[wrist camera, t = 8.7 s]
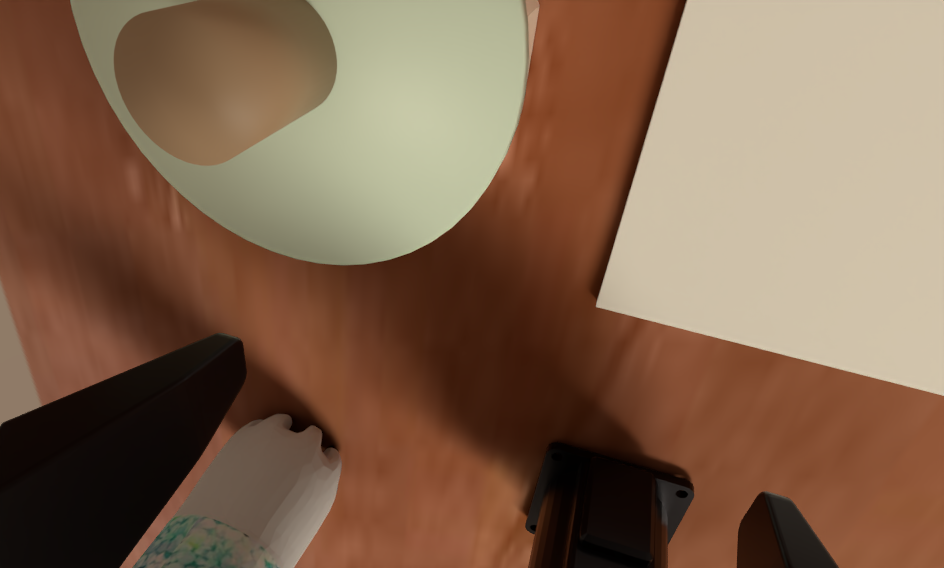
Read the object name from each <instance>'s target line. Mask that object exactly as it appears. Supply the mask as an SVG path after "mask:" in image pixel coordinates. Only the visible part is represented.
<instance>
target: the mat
mask: <svg viewBox="0 0 944 568" xmlns="http://www.w3.org/2000/svg"><path fill="white" fill-rule="evenodd" d="M596 307H598V308H602V309H606V310H610V311H614V312H618V313H622V314H626V315H630V316H634V317H638V318H642V319H645V320H649V321H653V322H657V323H661V324H665V325H669V326H673V327H677V328H681V329H685V330H689V331H692V332H696V333H700V334H704V335H708V336H712V337H716V338H720V339H724V340H728V341H732V342H736V343H740V344H743V345H747V346H751V347H755V348H759V349H763V350H767V351H771V352H775V353H779V354H783V355H787V356H791V357H794V358H798V359H802V360H806V361H810V362H814V363H818V364H822V365H826V366H830V367H834V368H838V369H841V370H845V371H849V372H853V373H857V374H861V375H865V376H869V377H873V378H877V379H881V380H885V381H889V382H892V383H896V384H900V385H904V386H908V387H912V388H916V389H920V390H924V391H928V392H932V393H936V394H939V395H943V396H944V0H686V3H685V7H684V10H683V13H682V17H681V20H680V23H679V27H678V30H677V34H676V37H675V40H674V44H673V47H672V50H671V54H670V57H669V60H668V64H667V67H666V70H665V74H664V77H663V80H662V84H661V87H660V91H659V94H658V97H657V101H656V104H655V107H654V111H653V114H652V117H651V121H650V124H649V127H648V131H647V134H646V137H645V141H644V144H643V148H642V151H641V154H640V158H639V161H638V164H637V168H636V171H635V174H634V178H633V181H632V184H631V188H630V191H629V194H628V198H627V201H626V205H625V208H624V211H623V215H622V218H621V221H620V225H619V228H618V231H617V235H616V238H615V241H614V245H613V248H612V251H611V255H610V258H609V262H608V265H607V268H606V272H605V275H604V278H603V282H602V285H601V288H600V292H599V295H598V298H597V302H596Z"/></svg>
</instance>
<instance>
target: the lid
mask: <svg viewBox="0 0 944 568" xmlns="http://www.w3.org/2000/svg"><path fill="white" fill-rule="evenodd" d="M70 2H71V7H72V12H73V15H74V18H75V22H76V25H77V28H78V32H79V35H80V38H81V42H82V44H83V47H84V49H85V52H86V54H87V57H88V59H89V62H90V64H91V67H92V69H93V72H94V74H95V76H96V78H97V80H98V82H99V84H100V86H101V88H102V90H103V92H104V94H105V96H106V98H107V100H108V102H109V104H110V105H111V107H112V109H113V110H114V112H115V114H116V115H117V117H118V118H119V120H120V122H121V123H122V125H123V127H124V128H125V130H126V131H127V132H128V134H129V135H130V137H131V138H132V139H133V141H134V142H135V143H136V145H137V146H138V148H139V149H140V150H141V152H142V153H143V154H144V155H145V156H146V158H147V159H148V160H149V161H150V162H151V163H152V165H153V166H154V167H155V168H156V169H157V170H158V172H159V173H160V174H161V175H162V176H163V177H164V178H165V179H166V180H167V181H168V182H169V183H170V184H171V185H172V186H173V187H174V188H175V189H176V190H177V191H178V192H179V193H180V194H181V195H182V196H184V197H185V198H186V199H187V200H188V201H190V202H191V203H192V204H193V205H194V206H196V207H197V208H198V209H199V210H200V211H202V212H203V213H204V214H206V215H207V216H209V217H210V218H211V219H213V220H214V221H216V222H217V223H219V224H220V225H222V226H223V227H225V228H226V229H228V230H230V231H231V232H233V233H235V234H237V235H239V236H240V237H242V238H244V239H246V240H248V241H250V242H252V243H254V244H256V245H259V246H261V247H263V248H266V249H268V250H270V251H273V252H276V253H279V254H282V255H285V256H288V257H292V258H295V259H299V260H304V261H309V262H314V263H320V264H333V265H359V264H370V263H375V262H381V261H386V260H390V259H393V258H396V257H399V256H402V255H405V254H408V253H411V252H413V251H415V250H417V249H419V248H421V247H423V246H425V245H427V244H429V243H431V242H433V241H434V240H435V239H437V238H438V237H440V236H441V235H442V234H444V233H445V232H447V231H448V230H449V229H451V228H452V227H453V226H454V225H455V224H456V223H457V222H458V221H459V220H460V219H461V218H462V217H464V216H465V215H466V214H467V213H468V212H469V211H470V210H471V208H472V207H473V206H474V204H475V203H476V202H477V201H478V199H479V198H480V197H481V195H482V194H483V193H484V191H485V190H486V189H487V187H488V186H489V184H490V182H491V181H492V179H493V178H494V176H495V174H496V172H497V170H498V169H499V167H500V165H501V163H502V161H503V159H504V158H505V156H506V154H507V152H508V150H509V147H510V144H511V142H512V139H513V136H514V134H515V131H516V129H517V126H518V123H519V119H520V114H521V110H522V106H523V102H524V97H525V93H526V84H527V74H528V64H529V30H528V16H527V9H526V2H525V0H70Z"/></svg>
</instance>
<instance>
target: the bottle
mask: <svg viewBox="0 0 944 568" xmlns="http://www.w3.org/2000/svg"><path fill="white" fill-rule="evenodd" d="M291 425H292V418H291V417H290V416H289V415H286V414H275V415H273V416H271V417H269V418H267V419H265V420H261V419H258V420H254V421H251V422H250V423H248V424H247V425H245V426H243V427H242V428H240V429H239V430H238V431H237V432H236V433H235V434H234V435H233V436H232V437H231V438H230V439H229V441H228V442H227V443H226V444H225V445H224V447H223V448H222V449H221V450H220V452H219V453H218V455H217V456H216V457H215V459H214V460H213V461H212V463H211V464H210V465H209V467H208V468H207V470H206V471H205V473H204V474H203V475H202V477H201V478H200V480H199V481H198V483H197V484H196V486H195V487H194V489H193V490H192V492H191V493H190V495H189V496H188V497H187V499H186V500H185V502H184V503H183V505H182V506H181V507H180V509H179V510H178V511H177V513H176V514H175V515H174V516H173V518H172V519H171V520H170V521H169V522H168V523H167V525H166V526H165V527H164V529H163V530H162V531H161V532H160V534H159V535H158V536H157V537H156V539H155V540H154V541H153V542H152V544H151V545H150V546H149V547H148V549H147V550H146V551H145V552H144V554H143V555H142V556H141V557H140V559H139V560H138V561H137V562H136V564H135V565H134V566H133V568H294V566H295V565H296V563H297V562H298V560H299V559H300V557H301V556H302V554H303V553H304V551H305V550H306V548H307V547H308V545H309V543H310V542H311V540H312V539H313V537H314V536H315V534H316V533H317V531H318V530H319V528H320V526H321V524H322V523H323V521H324V519H325V518H326V516H327V514H328V513H329V511H330V509H331V507H332V504H333V502H334V500H335V496H336V493H337V489H338V481H339V477H340V473H341V465H342V462H341V457H340V454H339V452H338V451H337V450H336V449H334V448H332V447H331V448H327V449H326V450H325V451H324V452H322V449H321V441H322V431H321V430H320V429H319V428H317V427H316V426H313V425H311V426H309V427H308V428H307V429H306V430H304V431H303V432H299V433H295V432H293V431H290V430H289V429H290V427H291Z"/></svg>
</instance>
